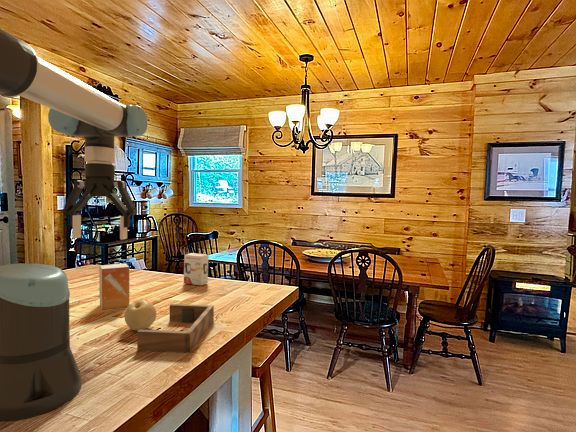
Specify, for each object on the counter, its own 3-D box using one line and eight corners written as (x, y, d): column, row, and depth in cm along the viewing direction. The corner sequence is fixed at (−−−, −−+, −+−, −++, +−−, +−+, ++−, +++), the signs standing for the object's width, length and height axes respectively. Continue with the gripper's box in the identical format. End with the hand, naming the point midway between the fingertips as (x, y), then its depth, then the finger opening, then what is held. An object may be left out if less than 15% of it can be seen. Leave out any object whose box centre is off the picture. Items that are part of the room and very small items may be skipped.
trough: (190, 352, 86) (189, 333, 85) (137, 350, 86) (137, 331, 86) (213, 320, 107) (213, 305, 106) (171, 319, 107) (171, 303, 107)
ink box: (183, 283, 148) (182, 254, 147) (190, 281, 153) (190, 252, 152) (201, 286, 145) (201, 256, 144) (208, 283, 150) (208, 254, 149)
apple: (125, 325, 102) (125, 298, 101) (156, 322, 105) (156, 295, 104) (123, 336, 94) (123, 306, 94) (156, 332, 97) (156, 303, 97)
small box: (102, 310, 114) (101, 268, 113) (99, 305, 119) (98, 265, 119) (130, 306, 119) (129, 266, 118) (126, 301, 124) (125, 262, 123)
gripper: (149, 165, 108) (148, 238, 109) (65, 164, 109) (65, 236, 110) (137, 162, 100) (137, 240, 101) (47, 161, 101) (48, 238, 102)
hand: (100, 238), depth 105 cm, fingers open, 13 cm apart
